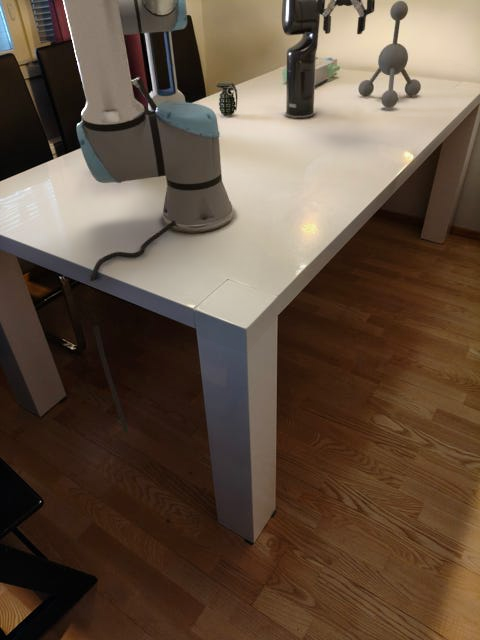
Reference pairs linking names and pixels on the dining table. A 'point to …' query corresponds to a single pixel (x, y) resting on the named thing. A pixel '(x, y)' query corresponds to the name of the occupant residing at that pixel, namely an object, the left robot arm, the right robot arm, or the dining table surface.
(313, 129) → the dining table surface
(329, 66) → the grey device with connectors
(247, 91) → the dining table surface
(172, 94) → the electronic device
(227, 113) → the grenade
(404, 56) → the molecular model
